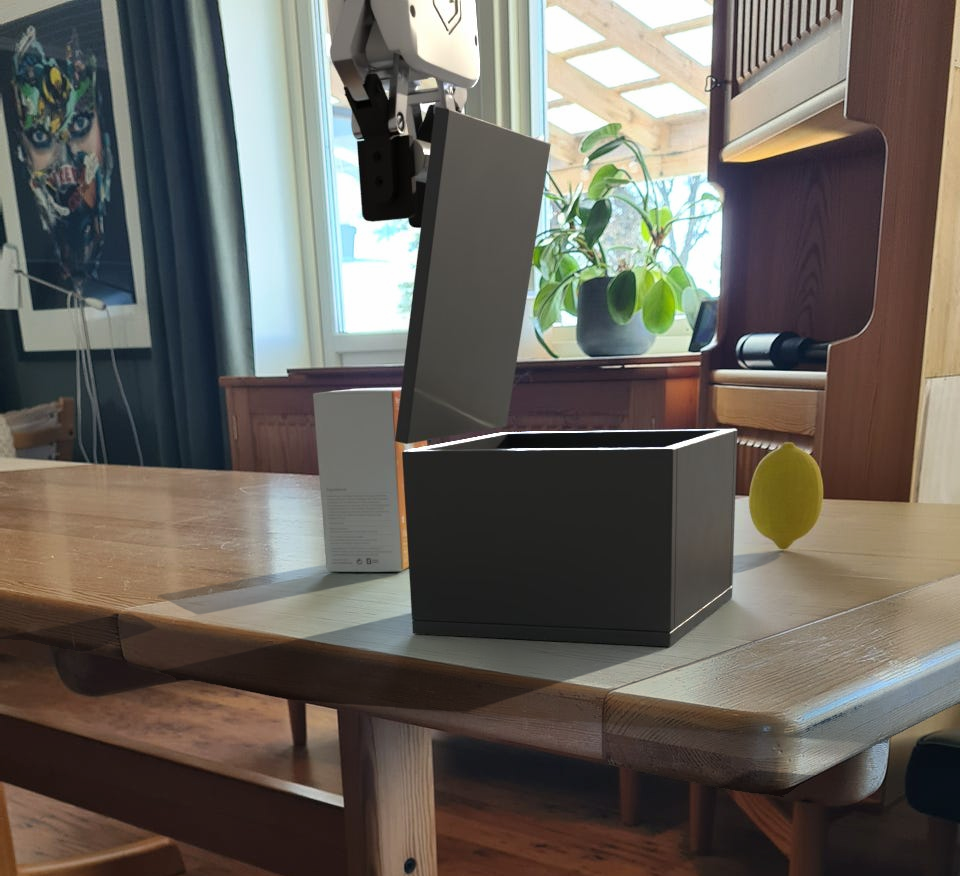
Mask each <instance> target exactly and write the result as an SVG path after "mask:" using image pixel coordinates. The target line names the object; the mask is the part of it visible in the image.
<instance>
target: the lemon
mask: <svg viewBox="0 0 960 876" xmlns="http://www.w3.org/2000/svg"><path fill="white" fill-rule="evenodd" d="M823 501H824V484H823V477H822V473H821V469H820V466H819V465H818V463H817V460H815V459H814V457H812V455H811V454H809V453H808V452H807V451H806V450H803V449H801V448H799V447H798V446H796V445H795V444H794V442H791V441H786V442H783V443H782V445H781V446H780V447H778V448H776V449H773V450H772V451H770V452H768V453H767V454H766V455H765V456H764V457H763V458H762V459H761V460H760V461H759V463H758V464H757V466H756V468H755V470H754V472H753V474H752V478H751V482H750V486H749V493H748V508H749V514H750V519H751V521H752V523H753V525H754V527H755V529H756V530H757V531H758V532H759V533H760V535H762V536H763V537H764V538H767V539H768V540H770V541H772V542H773V543H774V544H775V545H776V547H777V548H778V549H780V550H783V551H784V550H787V549H788V548H790V547H791V546H792V544H793V543H794V542H795V541H797V540H799V539H801V538H803V537H805V536H806V535H807V534H808V533H809V532H810V531H811V530H812V529H813V528H814V527H815V526H816V523H817V522H818V519H819V517H820V515H821V511H822V508H823V503H824V502H823Z"/></svg>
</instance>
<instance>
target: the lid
mask: <svg viewBox="0 0 960 876" xmlns="http://www.w3.org/2000/svg"><path fill="white" fill-rule="evenodd" d="M413 145H414V162H415V180H416V181H420V182H424V183H426V189H425V197H424V205H423V214H422V222H421V228H420V231H419V240H418V248H417V257H416V265H415V271H414V272H415V273H414V280H413V290H412V298H411V306H410V313H409V322H408V331H407V339H406V348H405V354H404V355H405V356H404V364H403V372H402V379H401V386H400V388H401V395H400V404H399V412H398V420H397V429H396V437H395V441H396V442H400V443H404V444H410V443H415V442H421V441H426V440H427V441H432V440H438V439H443V438H449V437H454V436H459V435H465V434H470V433H476V432H482V431H489V430H494V429H499V428H505V427H507V426H508V420H509V412H510V407H511V401H512V393H513V386H514V381H515V376H516V375H515V373H516V368H517V362H518V356H519V349H520V342H521V336H522V330H523V323H524V317H525V311H526V305H527V299H528V292H529V287H530V286H529V285H530V279H531V272H532V266H533V259H534V254H535V247H536V242H537V235H538V229H539V223H540V215H541V209H542V203H543V196H544V191H545V184H546V179H547V171H548V165H549V159H550V152H551V146H552V144H551V142H548V141H545V140H542V139H539V138H536V137H533V136H530V135H527V134H524V133H521V132H518V131H515V130H514V129H510V128H508V127H503V126H501V125H498V124H495V123H492V122H489V121H487V120H483V119H482V118H481V119H480V118H477V117H475V116H472V115H468V114H466V113H462V112H461V113H460V112H457V111H454V110H451V109H448V108H441V107H435V114H434V123H433V131H432V139H431V143H428V142H424V141H421V140H417V139H414V138H413Z"/></svg>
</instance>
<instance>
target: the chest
mask: <svg viewBox="0 0 960 876" xmlns="http://www.w3.org/2000/svg"><path fill="white" fill-rule="evenodd" d="M737 454H738V428H711V429H710V428H706V429H648V430H647V429H646V430H645V429H643V430H640V429H639V430H637V429H636V430H635V429H634V430H586V431H585V430H584V431H583V430H581V431H580V430H579V431H576V430H575V431H573V430H572V431H521V432H520V431H519V432H517V431H515V432H514V431H512V432H498V433H492V434H487V435H482V436H477V437H470V438H466V439H460V440H455V441H450V442H444V443H439V444H433V445H427V447H422V448H417V449H412V450H407V451H403V452H402V461H403V478H404V494H405V511H406V528H407V545H408V561H409V567H408V576H409V588H410V589H409V592H410V610H411V611H410V612H411V627H412V634H414V635H429V636H430V635H431V636H447V637H449V636H450V637H470V638H485V639H486V638H487V639H488V638H489V639H492V638H493V639H506V640H507V639H509V640H529V641H548V642H567V643H568V642H569V643H585V644H603V645H604V644H608V645H625V646H645V647H666V648H671V647H672V646H673V645H674V644H676V643H677V642H678V641H679V640H680V639H682V638H683V637H684V636H686V635H687V634H689V632H691V630H693V629H694V628H696V627H697V626H698V625H700V624H701V623H702V622H703V621H705V620H706V619H707V618H708V617H710V616H711V615H712V614H713V613H715V612H716V611H717V610H719V609H720V608H721V607H722V606H723V605H725V604H727V602H728V601H730V600H731V599H732V598H733V584H734V583H733V579H734V547H735V521H736V519H735V518H736V516H735V515H736V485H737V482H736V481H737V456H738V455H737Z"/></svg>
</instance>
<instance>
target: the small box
mask: <svg viewBox="0 0 960 876" xmlns="http://www.w3.org/2000/svg"><path fill="white" fill-rule="evenodd" d="M400 395H401V387H366V388H365V387H364V388H350V389H349V388H348V389H341V390H331V391H320V392H313V394H312V399H313V411H314V424H315V425H314V426H315V439H316V451H317V463H318V465H317V466H318V475H319V486H320V488H319V489H320V499H321V501H320V502H321V512H322V528H323V542H324V543H323V544H324V555H325V556H324V557H325V569H326V572H335V573H337V572H338V573H340V572H341V573H357V572H358V573H387V572H390V573H391V572H392V573H393V572H403V571H404V570H406V569H409V561H408V545H407V528H406V511H405V494H404V478H403V461H402V452H403V451H407V450H412V449H417V448H422V447H428V440H426V441H421V442H415V443H410V444H404V443H400V442H396V441H395V437H396V429H397V420H398V412H399V404H400Z"/></svg>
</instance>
